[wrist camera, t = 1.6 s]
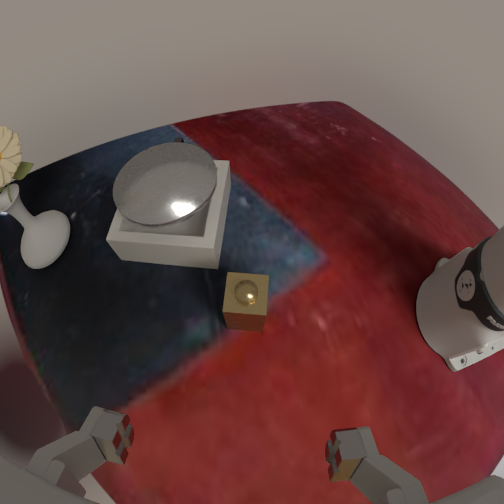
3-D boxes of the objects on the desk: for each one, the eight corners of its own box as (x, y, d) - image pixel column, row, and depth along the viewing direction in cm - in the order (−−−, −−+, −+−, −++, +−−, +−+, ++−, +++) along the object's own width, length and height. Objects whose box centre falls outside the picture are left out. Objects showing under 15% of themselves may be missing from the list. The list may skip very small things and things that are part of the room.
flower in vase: (27, 282, 39) (-69, 197, 17) (27, 231, 43) (-46, 143, 21) (85, 254, 41) (-3, 142, 19) (79, 203, 46) (16, 96, 24)
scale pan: (227, 160, 44) (226, 134, 40) (211, 250, 37) (206, 226, 32) (145, 159, 45) (137, 135, 40) (114, 242, 37) (98, 220, 32)
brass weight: (264, 299, 39) (269, 272, 31) (262, 331, 37) (266, 313, 29) (231, 296, 39) (227, 268, 31) (227, 328, 37) (221, 309, 29)
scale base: (231, 184, 48) (229, 158, 43) (218, 269, 41) (213, 248, 35) (147, 181, 48) (138, 157, 43) (121, 259, 41) (105, 239, 36)
